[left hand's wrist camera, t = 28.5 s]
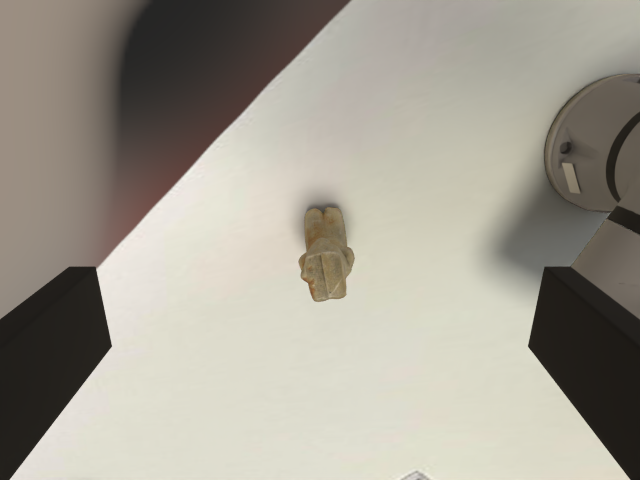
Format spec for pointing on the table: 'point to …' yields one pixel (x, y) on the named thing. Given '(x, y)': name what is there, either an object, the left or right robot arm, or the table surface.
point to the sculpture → (326, 254)
